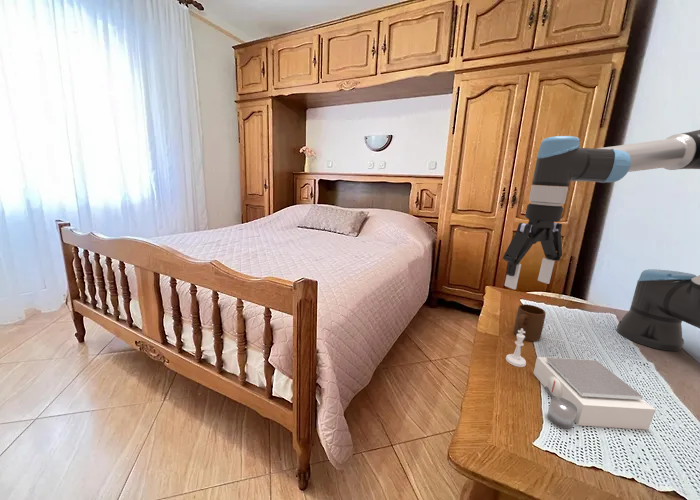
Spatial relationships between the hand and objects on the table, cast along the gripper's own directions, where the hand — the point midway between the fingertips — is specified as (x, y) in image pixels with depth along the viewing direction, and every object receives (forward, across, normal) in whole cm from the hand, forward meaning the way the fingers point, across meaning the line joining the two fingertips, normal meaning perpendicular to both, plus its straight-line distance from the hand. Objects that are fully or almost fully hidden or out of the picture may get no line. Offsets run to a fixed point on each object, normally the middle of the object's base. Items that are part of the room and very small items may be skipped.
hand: (527, 284), depth 76 cm
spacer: (+22, +11, +19) cm, 31 cm away
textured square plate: (+16, -1, +17) cm, 24 cm away
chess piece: (+22, 0, +2) cm, 22 cm away
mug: (+22, -14, -6) cm, 26 cm away
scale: (+22, -2, +17) cm, 28 cm away
